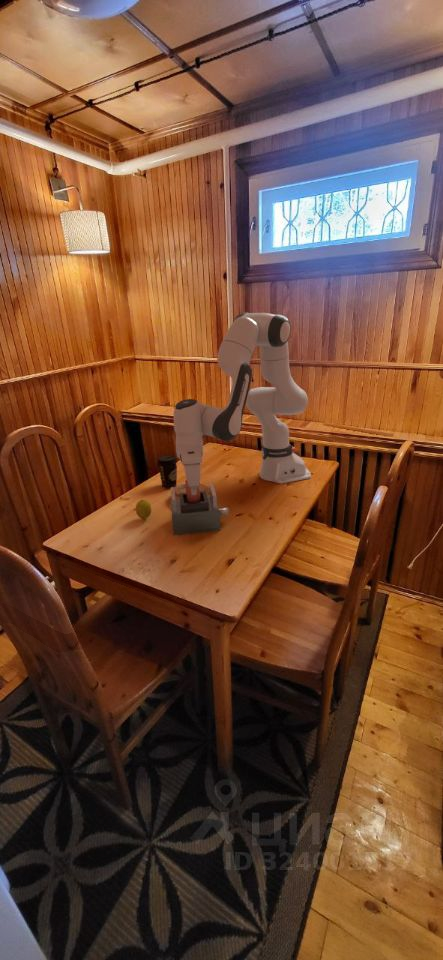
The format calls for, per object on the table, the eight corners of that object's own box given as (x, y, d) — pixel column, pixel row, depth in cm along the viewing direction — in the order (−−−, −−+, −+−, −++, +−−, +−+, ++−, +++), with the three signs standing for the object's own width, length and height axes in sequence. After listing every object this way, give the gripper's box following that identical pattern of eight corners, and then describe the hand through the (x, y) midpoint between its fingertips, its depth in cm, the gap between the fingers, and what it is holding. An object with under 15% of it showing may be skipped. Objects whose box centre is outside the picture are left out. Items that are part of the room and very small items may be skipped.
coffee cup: (181, 482, 180) (179, 454, 175) (177, 490, 173) (175, 461, 168) (162, 482, 181) (159, 454, 176) (157, 489, 174) (154, 461, 169)
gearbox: (226, 513, 152) (224, 481, 147) (231, 529, 141) (230, 495, 136) (172, 518, 150) (169, 486, 145) (173, 535, 139) (170, 501, 134)
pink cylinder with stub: (200, 500, 145) (198, 475, 141) (201, 506, 140) (200, 481, 136) (179, 502, 144) (176, 477, 140) (179, 508, 139) (177, 483, 135)
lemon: (155, 516, 152) (152, 497, 149) (147, 523, 147) (145, 503, 144) (141, 514, 154) (139, 495, 150) (134, 521, 149) (131, 502, 146)
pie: (163, 500, 164) (162, 489, 162) (191, 487, 174) (190, 477, 172) (190, 512, 154) (189, 500, 152) (218, 497, 165) (217, 486, 163)
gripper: (178, 441, 143) (181, 477, 149) (181, 461, 125) (185, 502, 130) (196, 439, 144) (199, 475, 149) (202, 459, 125) (205, 500, 131)
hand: (192, 488), depth 140 cm, fingers open, 8 cm apart
